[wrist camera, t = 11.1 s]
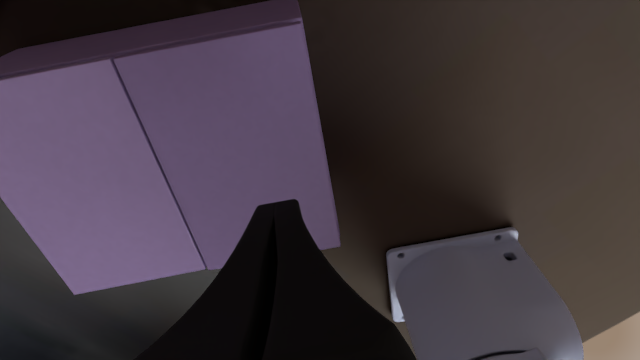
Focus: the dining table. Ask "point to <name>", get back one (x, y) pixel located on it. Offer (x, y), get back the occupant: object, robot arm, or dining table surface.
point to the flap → (89, 179)
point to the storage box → (219, 114)
